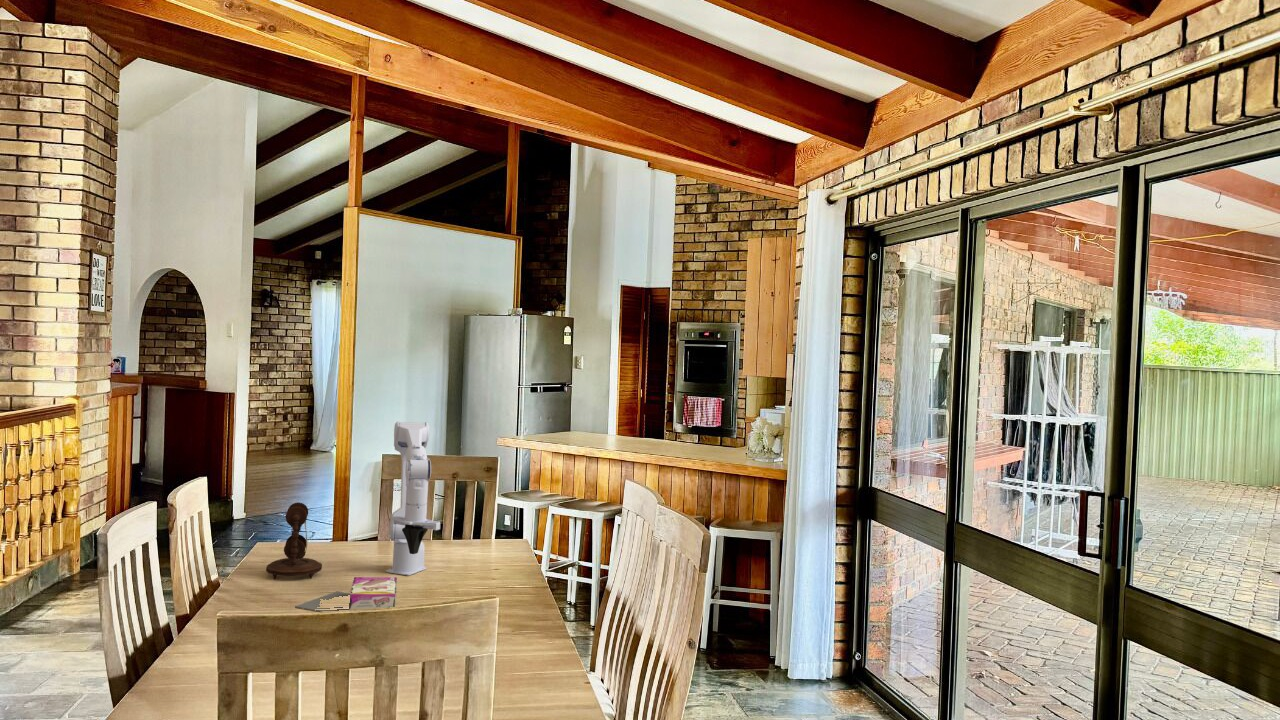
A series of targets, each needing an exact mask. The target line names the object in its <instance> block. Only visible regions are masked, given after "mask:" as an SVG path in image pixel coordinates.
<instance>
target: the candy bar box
mask: <svg viewBox="0 0 1280 720" xmlns="http://www.w3.org/2000/svg"><path fill="white" fill-rule="evenodd" d="M397 580H398V578H397V577H396V576H393V577H391V576H385V577H383V576H380V577H379V576H354V577H353V580H352V581H353V582H352V586H351V591H350V603H349V610H354V609H374V608H390V607H395V608H396V600H397V599H396V598H397V587H398V586H397V584H398V581H397Z"/></svg>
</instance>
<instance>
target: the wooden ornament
mask: <svg viewBox="0 0 1280 720" xmlns="http://www.w3.org/2000/svg"><path fill="white" fill-rule="evenodd" d="M308 516H309V509H308V507H307V505H306V504H305V503H303V502H293V503H292V504H291V505H290V506H289V507H288V509H287V512H286V513H285V521H286V523H287V524H288V525H289V526H290V527H291V528H292V531H291V535H290V536H289V537H288V538H286V541H285V545H284V547H283V554H284V555H285V557H284V558H280V559H276V560H274V561H272V562H270V563H268V564H267V565H266V567H265V572H266V573H267V574H270V575H272V578H273V580H276V579H277V577H278V576H281V577H299V576H308V578H309V579H312V578H313V576H314V574H317V573H319V572H320V571H322V569H323V568H322V567H323V563H321V562H320V561H318V560H316V559H313V558H309V557H308V558H307V557H305V556H306V553H307V549H308V535H307V534H308V533H307V524H306V523H307V519H308ZM303 525H304V529H305V537H304V535H301V534H300V532H301V529H302V527H303Z"/></svg>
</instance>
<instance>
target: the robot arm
mask: <svg viewBox="0 0 1280 720" xmlns="http://www.w3.org/2000/svg"><path fill="white" fill-rule="evenodd" d="M393 427H394V429H393V447H394V450H395V451H396V452H399V454H400V457H401V458H400V459H401V478H400V479H401V481H400V507H399V508H398V509H396V510H395V511H393V512H392V513H391V515H390V520H389V521H390V522H389V539H390V540H391V541H393V550H392V551H393V552H392V553H393V554H392V567H391V568H389V569H386V571H385V573H388V574H389V573H390V574H396V575H404V576H412V575H414V574H417V573H419V572H422V571H425V570H427V566H425V555H426V553H425V552H426V547H425V546H426V545H425V543H424V542H423V539H424V538H425V535H426V534H427V532H428V529H429V530H433V531H439V530H441V522H440V521H436V520H432V519H427V514H428V494H429V481H430V480H431V475H432V463H431V459H430V458H428V455H427V449H426V448H427V446H428V442H429V439H430V424H429V423H428V422H427V421H426V422H407V421H406V422H405V421H396V422H395V423H394V426H393Z"/></svg>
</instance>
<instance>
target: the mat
mask: <svg viewBox="0 0 1280 720" xmlns="http://www.w3.org/2000/svg"><path fill="white" fill-rule="evenodd" d="M350 594H351V592H342V591H338V590H337V591H333V592H332V593H329V594H326V595H323V596H320V597H317V598H315V599H311V600H309V601H306V602H304V603H303V602H302V603H301V604H298V605H295V606H294V608H295V609H300V608H304V609H303V610H307V611H311V610H315V609H330V608H317V607H320V605H319V604H320V601H321V600H320V599H323V600H325V599H326V600H329V599H332V598H334V597H339V596H342V597H343V596H348V595H350ZM321 604H322V603H321ZM334 608H343V607H334ZM339 610H349V609H337V610H316V611H315V612H318V613H321V612H320V611H339Z"/></svg>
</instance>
